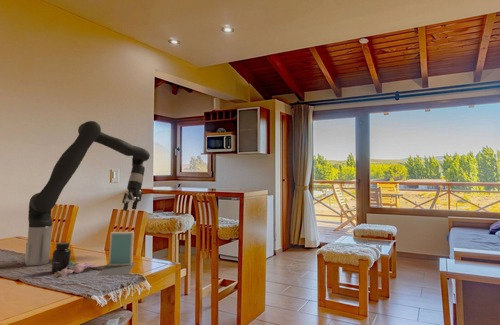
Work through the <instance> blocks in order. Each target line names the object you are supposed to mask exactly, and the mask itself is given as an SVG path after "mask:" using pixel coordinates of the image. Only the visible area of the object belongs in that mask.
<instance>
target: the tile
mask: <svg viewBox="0 0 500 325" xmlns="http://www.w3.org/2000/svg"><path fill="white" fill-rule="evenodd" d="M134 238H135V232H134V231H111V232H110V237H109V250H108V251H109V252H108V254H109V255H108V263H109V266H118V265H132V262H133V257H134V256H133V255H134Z"/></svg>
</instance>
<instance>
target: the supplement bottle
mask: <svg viewBox="0 0 500 325" xmlns="http://www.w3.org/2000/svg"><path fill="white" fill-rule="evenodd" d="M71 256H72V250H71V249H70V242H64V241H63V242H57V243H56V244H55V250H53V252H52V258H51V267H50V268H51V269H50V271H51V273H52V274H55V273H56V272H57V271H61V270H62V269H65V268H66V267H67V266H68V265H70V264H71V263H70V262H71V260H72V259H71ZM70 268H71V267H68V268H67V269H69V270H71V269H70Z"/></svg>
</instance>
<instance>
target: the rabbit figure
mask: <svg viewBox="0 0 500 325" xmlns="http://www.w3.org/2000/svg"><path fill="white" fill-rule="evenodd" d="M74 265H75V266H74ZM73 266H74V267H73ZM90 266H95V264H94V263H91V262H86V263H78V264H74V261H72V260H70V265H68V266H67V267H66V268H65V269H62V270H61V271H57V272H56V273H54V277H56V278H58V276H60V277H62V276H67V275H71V274H73V273H75V274H80V273H83V272H84V271H85V269H86V268H88V267H89V268H90ZM68 267H70V268H71V267H72V268H73V269H67V268H68Z"/></svg>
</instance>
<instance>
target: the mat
mask: <svg viewBox="0 0 500 325" xmlns="http://www.w3.org/2000/svg"><path fill="white" fill-rule="evenodd" d="M135 264H136V262H135V261H134V262H133V261H132V265H118V266H109V262H108V263H107V264H106V265H105V266H104V267H103V268H102V270H101V271H100V272H99V273H98V274H97V275H96V276H99V277H100V276H103V277H104V276H124V275H125V276H127V275H128V276H129V274H130V272H131V270H132V269H133V267H134V265H135Z"/></svg>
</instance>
